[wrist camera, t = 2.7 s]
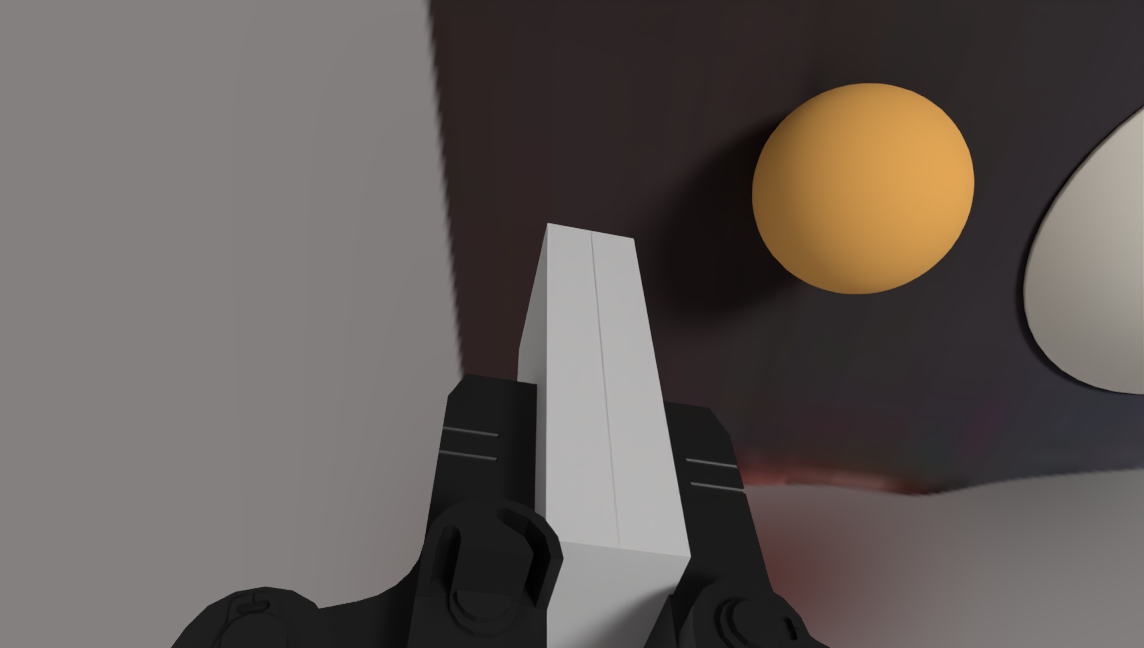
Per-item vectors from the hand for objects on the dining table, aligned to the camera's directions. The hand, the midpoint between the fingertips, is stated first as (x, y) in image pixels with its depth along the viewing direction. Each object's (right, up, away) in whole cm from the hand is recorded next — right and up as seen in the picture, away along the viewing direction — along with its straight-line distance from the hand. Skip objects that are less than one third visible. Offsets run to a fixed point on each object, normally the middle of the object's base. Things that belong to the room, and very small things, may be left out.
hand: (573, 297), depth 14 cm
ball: (+8, +3, +7) cm, 11 cm away
